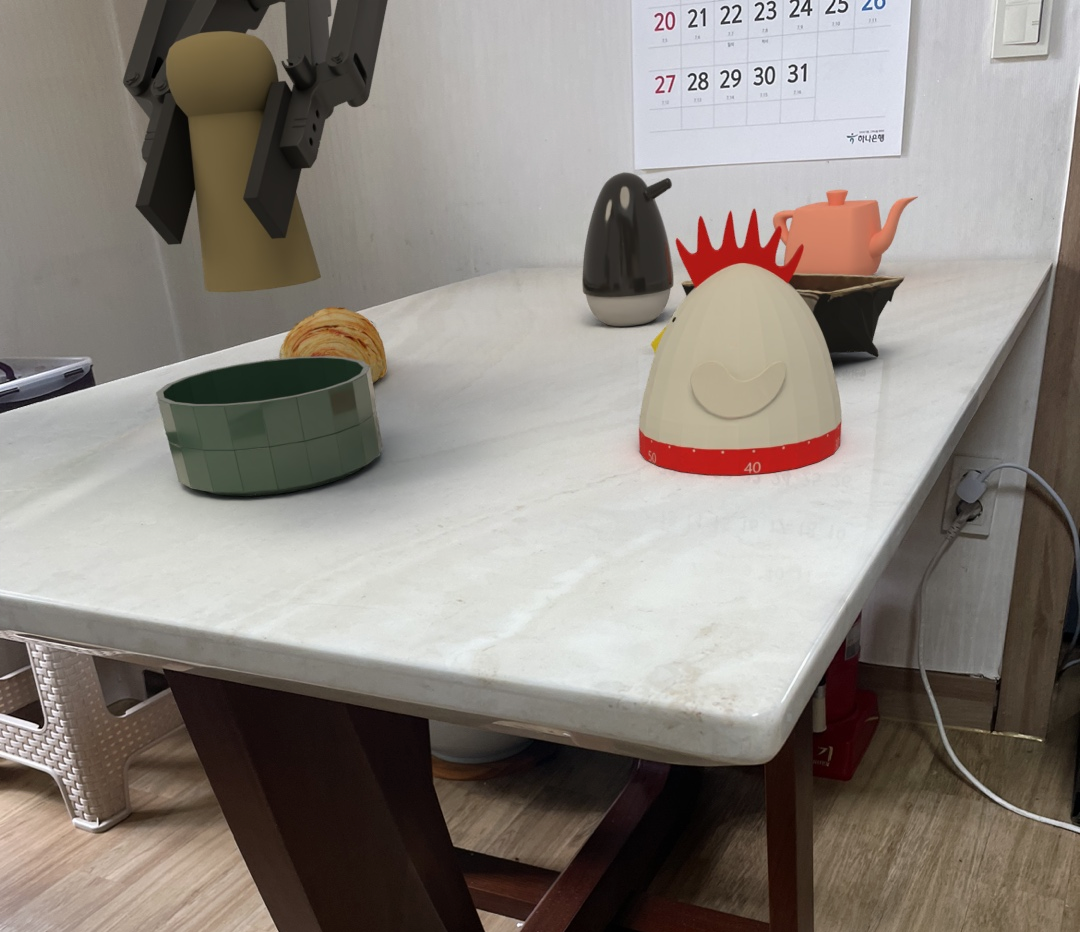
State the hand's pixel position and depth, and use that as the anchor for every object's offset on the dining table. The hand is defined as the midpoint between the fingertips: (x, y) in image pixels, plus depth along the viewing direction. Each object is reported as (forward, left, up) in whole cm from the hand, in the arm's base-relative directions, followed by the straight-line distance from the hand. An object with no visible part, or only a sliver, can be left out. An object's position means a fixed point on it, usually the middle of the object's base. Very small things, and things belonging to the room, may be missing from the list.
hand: (211, 221), depth 50 cm
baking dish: (+23, +51, -18) cm, 59 cm away
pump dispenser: (+4, +74, -18) cm, 77 cm away
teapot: (+26, +97, -18) cm, 102 cm away
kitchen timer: (+22, +25, -18) cm, 38 cm away
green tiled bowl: (-11, +19, -18) cm, 28 cm away
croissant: (-20, +47, -18) cm, 54 cm away
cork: (0, +4, -4) cm, 5 cm away
